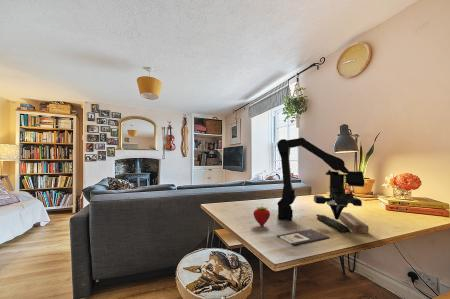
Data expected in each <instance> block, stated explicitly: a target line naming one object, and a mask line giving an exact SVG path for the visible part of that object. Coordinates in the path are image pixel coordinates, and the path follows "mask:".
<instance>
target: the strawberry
mask: <svg viewBox="0 0 450 299" xmlns="http://www.w3.org/2000/svg"><path fill="white" fill-rule="evenodd" d="M261 205H262V206H260V207H256V208H255V210H253V218H254V219H255V221H256V223H257V224H258V225H259V226H260V227H264V225H265V224H266V223H267V222H268V221H269V219H270V215H271V213H270V211H269V210H268V207H264V205H263V203H261Z"/></svg>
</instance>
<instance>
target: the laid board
mask: <svg viewBox="0 0 450 299" xmlns="http://www.w3.org/2000/svg"><path fill="white" fill-rule="evenodd" d="M338 220H340V222H341V223H342V224H343V225H345V226H347V227H348V228H349V229H350V231H352V232H353V233H359V234H369V225H368V224H366V223H365V222H364V221H362V220H360V219H359V218H358V217H356V216H355V215H353V214H352V213H350V212H345V211H344V212H342V211H341V213H340V216H339V218H338Z"/></svg>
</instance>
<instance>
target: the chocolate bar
mask: <svg viewBox="0 0 450 299" xmlns="http://www.w3.org/2000/svg"><path fill="white" fill-rule="evenodd" d="M276 237H277V238H279V239H280V238H281V240H282V241H283V242H286V243H288V244H289V245H291V246H293V247H296V246H300V245H305V244H309V243H314V242H320V241H324V240H329V239H330V236H328V235H326V234H324V233H321V232H318V231H317V230H315V229H313V228H310V229H305V230H304V229H303V230H298V231H294V232H287V233H283V234H276Z"/></svg>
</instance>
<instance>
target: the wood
mask: <svg viewBox="0 0 450 299" xmlns="http://www.w3.org/2000/svg"><path fill="white" fill-rule="evenodd" d="M316 217H317V218H318V219H319V220H320V221H321V222H322V223H323V224H325V225H327V226H329V227H330V228H332V229H333V230H335V231H337V232H338V233H340V234H347V233H348V234H352V232H351V229H350V228H348V227H347V226H346V225H345V224H344V223H342V222H341V221H340V222H339V221H338V220H336V219H335V218H331V217H329V216H326V215H324V214H316Z"/></svg>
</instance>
